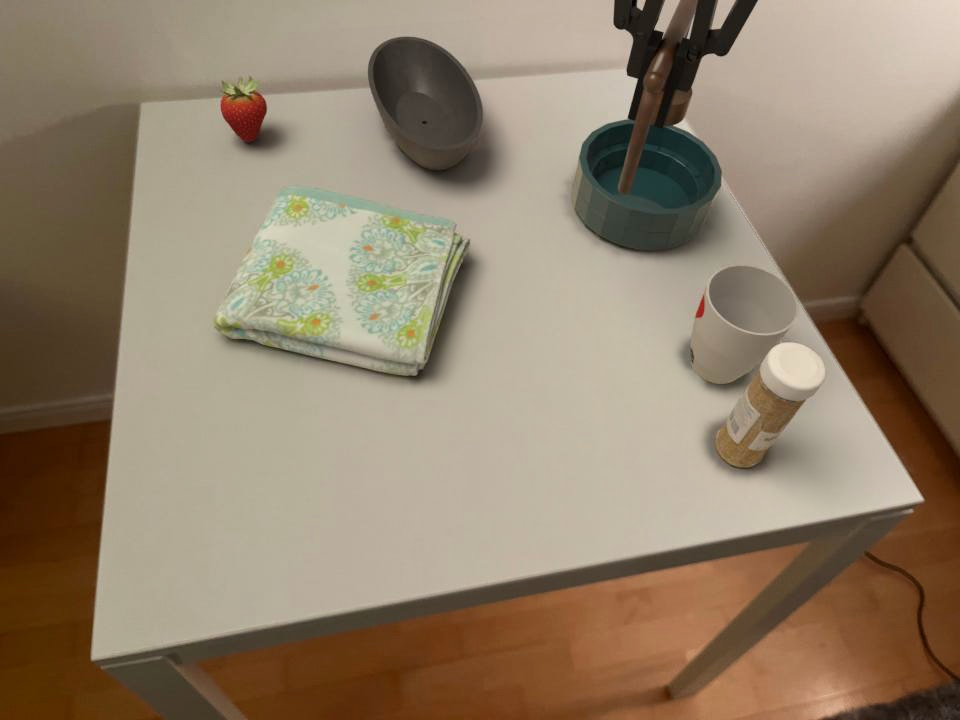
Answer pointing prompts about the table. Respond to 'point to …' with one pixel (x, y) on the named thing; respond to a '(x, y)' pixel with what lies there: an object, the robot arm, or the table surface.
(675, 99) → the bent wooden rod
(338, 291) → the towel
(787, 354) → the sprinkles bottle
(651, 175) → the mixing bowl
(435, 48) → the bowl
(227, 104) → the fruit
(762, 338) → the cup
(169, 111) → the table surface
